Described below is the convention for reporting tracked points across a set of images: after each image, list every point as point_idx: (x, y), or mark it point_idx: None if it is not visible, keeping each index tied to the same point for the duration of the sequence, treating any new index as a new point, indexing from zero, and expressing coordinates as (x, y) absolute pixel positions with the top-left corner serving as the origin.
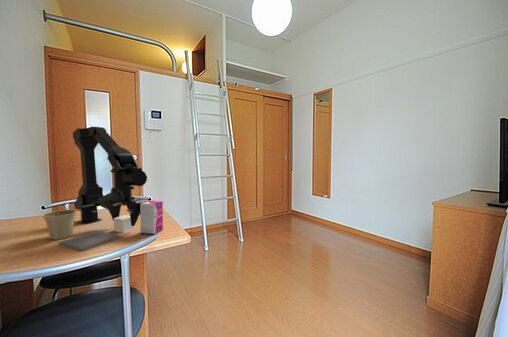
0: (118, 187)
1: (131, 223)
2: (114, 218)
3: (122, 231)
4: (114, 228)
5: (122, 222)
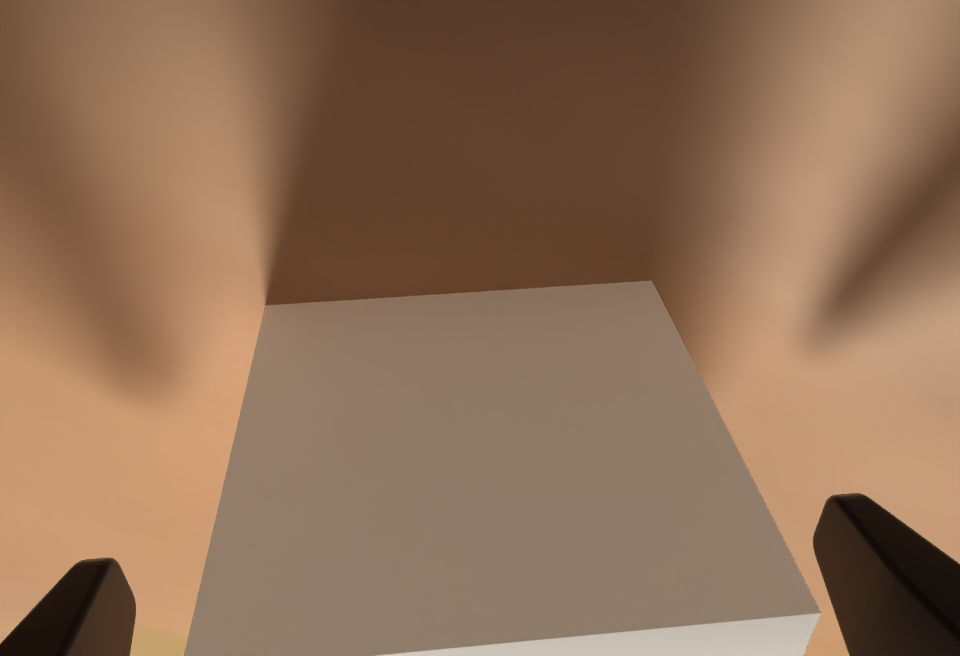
0: None
1: (48, 632)
2: (765, 613)
3: (307, 320)
4: (659, 326)
5: (251, 551)
